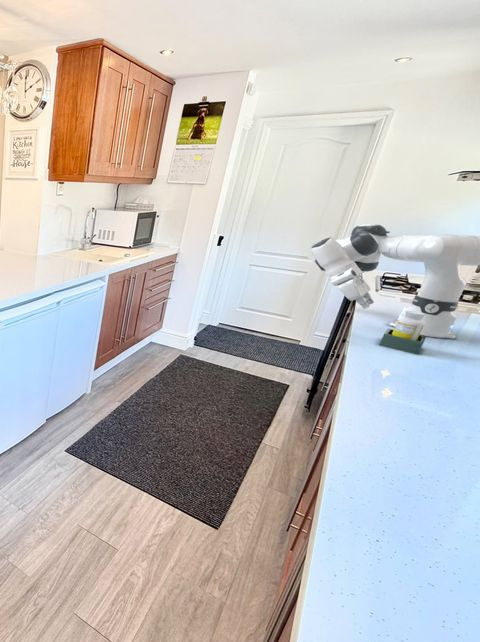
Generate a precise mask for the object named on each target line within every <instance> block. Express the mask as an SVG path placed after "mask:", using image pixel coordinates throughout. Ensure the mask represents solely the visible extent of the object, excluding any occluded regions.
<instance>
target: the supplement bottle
mask: <svg viewBox="0 0 480 642" xmlns="http://www.w3.org/2000/svg"><path fill="white" fill-rule="evenodd" d="M424 315H425V314H424V313H422V312H417V311H411V310H407V311H406V313H405V317H401V318H399V317H398V319H397V320H396V321H397V324H396V326H395V327H393V333H392V335H394V336H398V337H403V338H407V339H412V340H416V341H417V339H418V337H419V335H420V332H421V330H422V328H423V326H424V324H425V323H424V321H423V320H422V318H423V317H424Z"/></svg>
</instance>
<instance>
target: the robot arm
mask: <svg viewBox="0 0 480 642" xmlns="http://www.w3.org/2000/svg"><path fill="white" fill-rule="evenodd" d="M390 233H391V232H390V231H389V230H387V229H386V228H385V227H384V226H383V225H381V224H378V223H371V222H370V223H369V222H367V223H363V224H360V225H357V226H355V227H354V228H353V229H352V230H351V233H350V236H348V237H345V238H337V239H335V238H334V237H330V236H329V237H326V238H324V239H322V240H320V241H318V242H316V243H315V244H313V245H311V248H310V251H311V253H312V255H313V257H314V263H315V264H316V265H317V266H318V268H319V269H320V271H323V272H325V273H326V275H327V277H328V278H329V280H330V282H331V284H332V285H333V286H334V287H337V288H338V290H339V291H340V292H341V293H342V294H343V295H344V296H345V298H347V300H348V301H350V302H353V301H355V302H356V303H357V304H358V305H360V307H361V308H362V309H364V310H365V309H368V308H370V307H371V306H370V305H372V304H374V303H375V301H374V299H373V298H372V296H371V294H370V291H371V287H370V285H369V284H368V283H367V282H366V281H365V279H364V278H363V277H362V276H361V274H362V273H369V272H373V271H374V270H377V268H378V266H379V264H380V261H379V260H380V258H381V255H382V256H384V257H386V258H389V259H392V260H397V261H404V262H417V263H423V265H424V271H425V272H424V277H423V281H422V283H421V285H420V288H419V290H418V293H417V294H416V295H415V296H414V297H413V298H412V301H411V304H410V305H408V306H406V307H404V308H402V310H401V313H400V315H399V316H398V319H399V318H401V317H405V313H406V311H407V310H411V311H417V312H422V313H424V314H425V315H424V317H423V318H422V320H423V321H424V323H425V324H424V326H423V328H422V330H421V332H420V335H421V336H425V337H431V338H441V339H453V340H455V339H456V334H454V333H453V332H452V329H453V328H454V325H455V323H456V322H457V319H458V317H457V316H456V314H455V313H454V312H455V311H456V310H457V308H458V305H459V300H460V298H461V296H462V294H463V292H464V290H465V288H466V286H467V281H466V279H465V278H464V277H463V276H461V266H470V267H471V266H480V235H467V234H466V235H465V234H402V235H393V236H391V235H388V234H390ZM397 321H398V320H394V321H390V322H389V324H388V326H390V327H393V328H395V326H396V324H397Z"/></svg>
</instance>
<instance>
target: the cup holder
mask: <svg viewBox="0 0 480 642" xmlns="http://www.w3.org/2000/svg"><path fill="white" fill-rule="evenodd" d="M393 330H394V328H393V329H392V328H387V329H386V330H385V332H384V333H383V335H382V337H381V340H380V342H379V344H378V345H379V346H382V347H386V348H390V349H394V350H399V351H402V352H406V353H409V354H415V355H419V353H420V351H421V349H422V347H423V345H424V343H425V340H426V339H427V336H424V335H419V337H418V339H417V341H416V340H412V339H407V338H403V337H398V336H394V335H392V333H393Z"/></svg>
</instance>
